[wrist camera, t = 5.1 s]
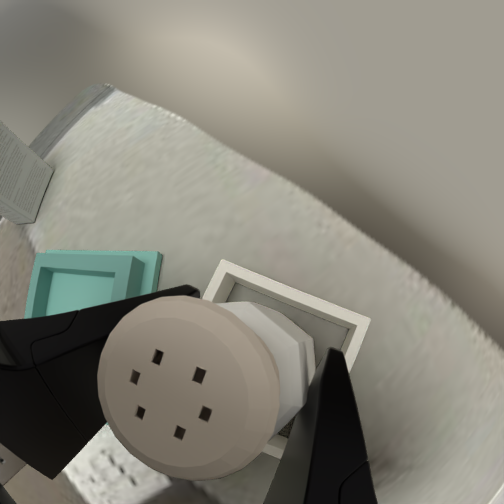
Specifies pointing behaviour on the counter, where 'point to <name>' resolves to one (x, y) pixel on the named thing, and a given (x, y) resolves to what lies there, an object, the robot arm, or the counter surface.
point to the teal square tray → (89, 279)
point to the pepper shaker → (202, 383)
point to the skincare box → (20, 179)
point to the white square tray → (303, 301)
